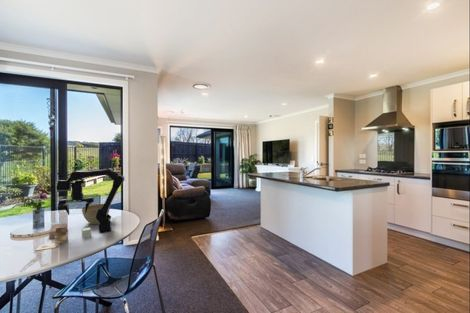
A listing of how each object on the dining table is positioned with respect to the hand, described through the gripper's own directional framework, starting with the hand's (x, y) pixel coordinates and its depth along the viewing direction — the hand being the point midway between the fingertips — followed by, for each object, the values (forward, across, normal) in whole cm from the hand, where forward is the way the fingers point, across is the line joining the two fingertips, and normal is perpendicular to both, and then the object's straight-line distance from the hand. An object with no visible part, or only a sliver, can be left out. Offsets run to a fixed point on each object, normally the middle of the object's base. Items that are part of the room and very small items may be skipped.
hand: (77, 213), depth 147 cm
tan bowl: (+13, -8, -20) cm, 26 cm away
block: (+13, -6, +8) cm, 16 cm away
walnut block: (+8, +6, +11) cm, 15 cm away
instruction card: (+13, +11, +18) cm, 25 cm away
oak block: (+13, +6, +12) cm, 18 cm away
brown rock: (+13, +11, -5) cm, 18 cm away
